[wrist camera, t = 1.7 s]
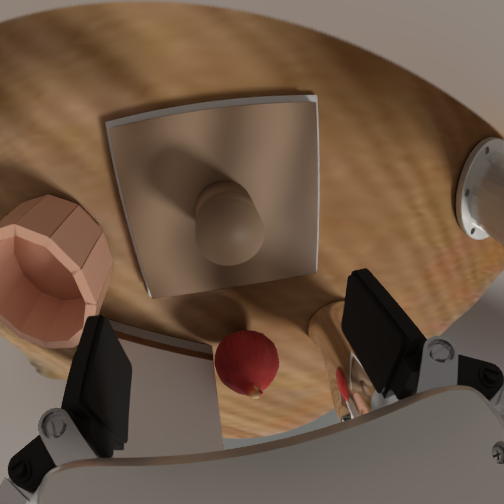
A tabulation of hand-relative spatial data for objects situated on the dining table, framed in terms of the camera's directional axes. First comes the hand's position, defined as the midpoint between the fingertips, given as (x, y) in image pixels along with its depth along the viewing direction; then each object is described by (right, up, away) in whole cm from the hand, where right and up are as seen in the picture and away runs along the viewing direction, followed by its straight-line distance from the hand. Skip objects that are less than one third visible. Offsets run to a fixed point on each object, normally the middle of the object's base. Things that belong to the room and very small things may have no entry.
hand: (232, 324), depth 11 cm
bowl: (-16, +3, +11) cm, 20 cm away
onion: (0, -5, +19) cm, 19 cm away
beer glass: (+10, -5, +20) cm, 23 cm away
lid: (-1, +6, +11) cm, 13 cm away
